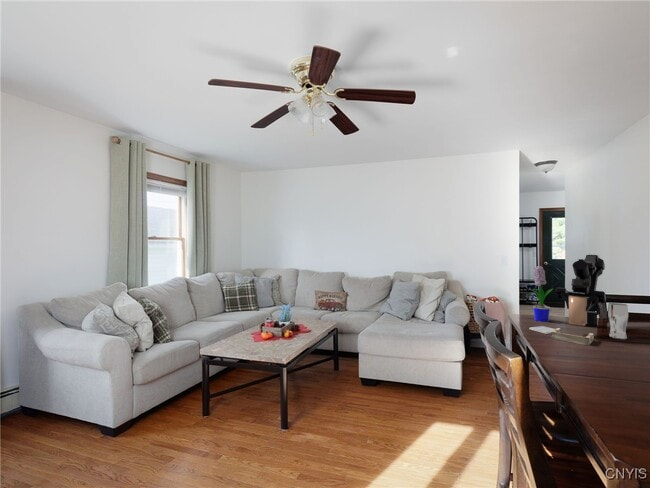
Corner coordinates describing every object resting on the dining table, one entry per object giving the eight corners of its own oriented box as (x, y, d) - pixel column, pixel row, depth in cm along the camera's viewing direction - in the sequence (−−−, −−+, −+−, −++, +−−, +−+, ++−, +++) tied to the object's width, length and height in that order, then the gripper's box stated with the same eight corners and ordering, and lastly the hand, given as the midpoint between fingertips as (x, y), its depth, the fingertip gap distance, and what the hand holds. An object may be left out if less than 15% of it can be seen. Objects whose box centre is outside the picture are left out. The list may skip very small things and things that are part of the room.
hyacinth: (557, 322, 182) (557, 266, 182) (535, 321, 184) (535, 266, 184) (549, 318, 191) (549, 264, 191) (529, 318, 193) (529, 264, 193)
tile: (543, 327, 172) (543, 325, 172) (560, 332, 164) (560, 330, 164) (529, 329, 170) (529, 327, 170) (546, 333, 161) (546, 332, 161)
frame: (557, 334, 160) (557, 327, 160) (593, 340, 150) (593, 333, 150) (551, 338, 153) (551, 332, 153) (588, 345, 143) (588, 338, 143)
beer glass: (620, 335, 158) (620, 302, 157) (632, 339, 151) (632, 305, 150) (604, 335, 158) (604, 302, 158) (615, 339, 151) (615, 305, 151)
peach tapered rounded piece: (570, 320, 164) (570, 295, 164) (588, 323, 159) (588, 297, 159) (567, 323, 159) (567, 297, 159) (585, 326, 154) (585, 299, 154)
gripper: (556, 271, 168) (549, 296, 161) (604, 273, 154) (600, 301, 147) (560, 285, 174) (554, 310, 166) (607, 289, 160) (603, 316, 153)
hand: (577, 309), depth 158 cm, fingers closed on peach tapered rounded piece, 7 cm apart
